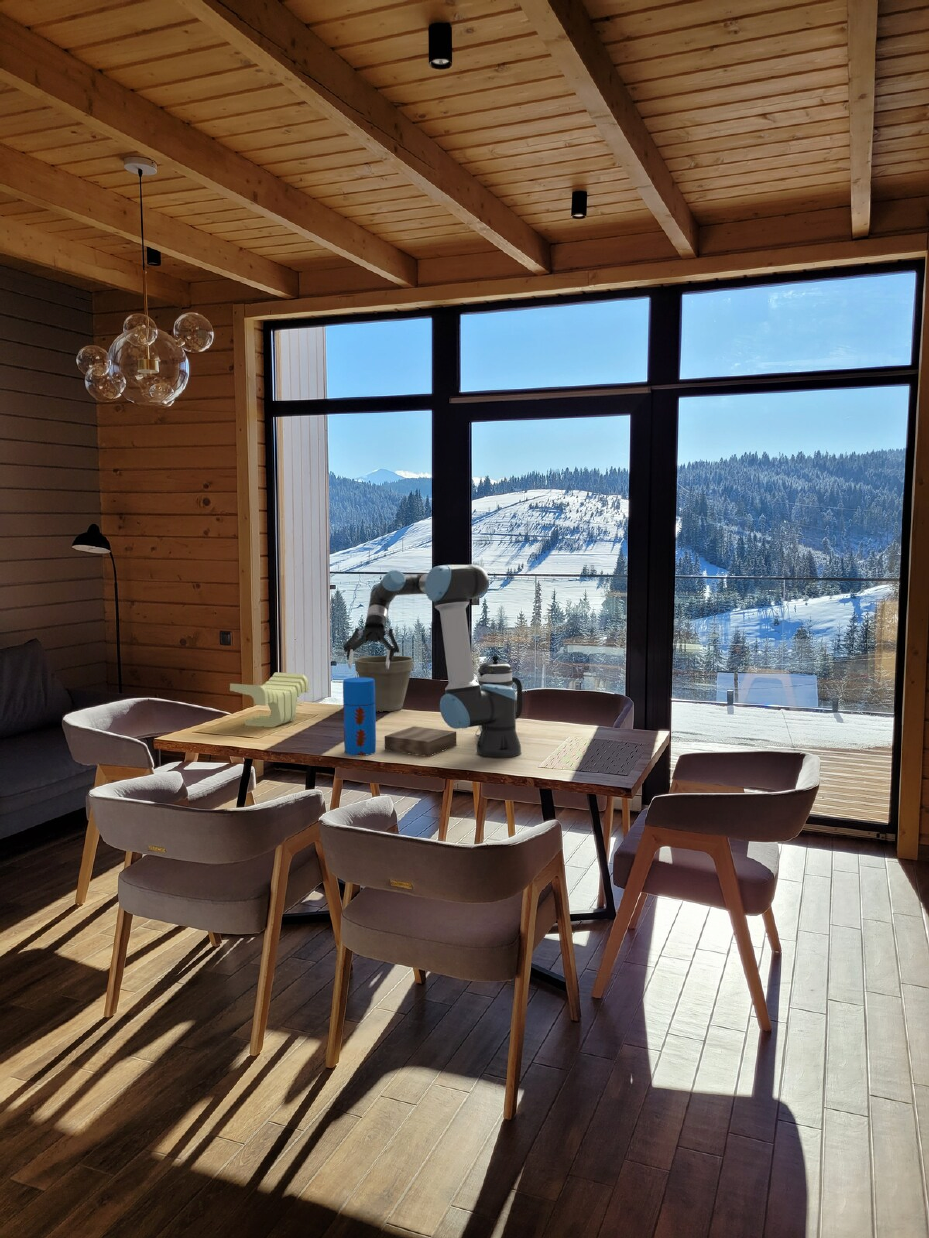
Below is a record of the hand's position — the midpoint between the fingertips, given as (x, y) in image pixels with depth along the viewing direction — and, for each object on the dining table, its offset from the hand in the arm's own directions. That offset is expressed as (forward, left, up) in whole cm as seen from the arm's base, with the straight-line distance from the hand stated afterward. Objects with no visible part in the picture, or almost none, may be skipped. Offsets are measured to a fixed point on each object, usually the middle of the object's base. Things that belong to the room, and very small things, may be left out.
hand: (368, 666), depth 324 cm
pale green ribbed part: (+54, -8, -28) cm, 62 cm away
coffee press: (-35, -32, -28) cm, 55 cm away
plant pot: (+32, -54, -28) cm, 69 cm away
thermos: (-6, +13, -28) cm, 31 cm away
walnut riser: (-21, -2, -27) cm, 34 cm away
